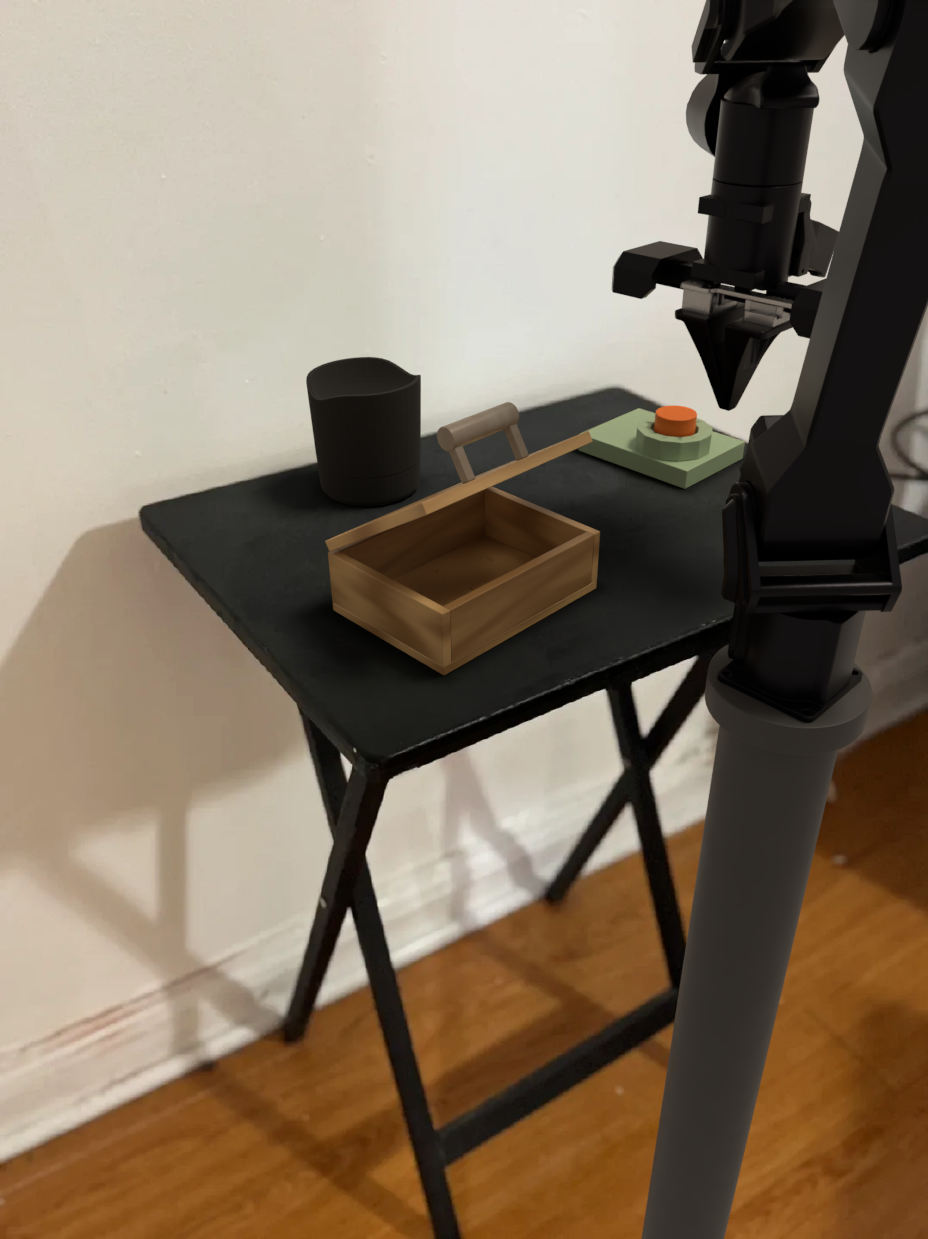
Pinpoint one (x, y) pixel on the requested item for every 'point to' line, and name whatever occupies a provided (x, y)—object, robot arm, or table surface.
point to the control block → (663, 449)
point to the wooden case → (464, 576)
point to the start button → (675, 421)
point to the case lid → (468, 467)
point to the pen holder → (366, 430)
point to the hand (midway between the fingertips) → (727, 408)
